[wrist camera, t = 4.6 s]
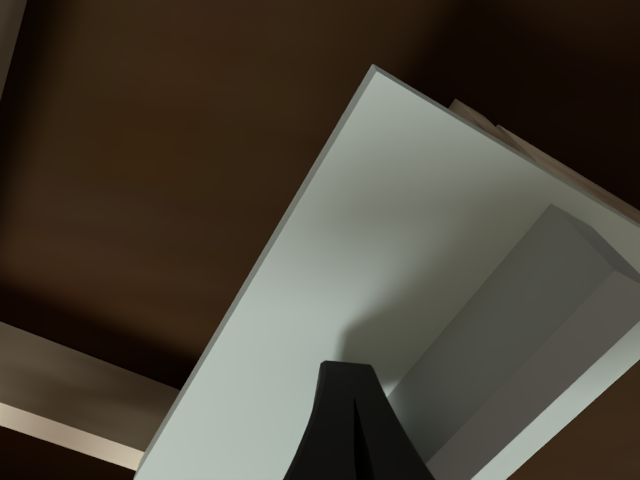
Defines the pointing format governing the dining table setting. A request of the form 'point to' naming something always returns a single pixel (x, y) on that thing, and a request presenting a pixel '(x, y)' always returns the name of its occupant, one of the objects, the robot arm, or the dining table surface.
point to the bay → (120, 384)
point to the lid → (416, 302)
